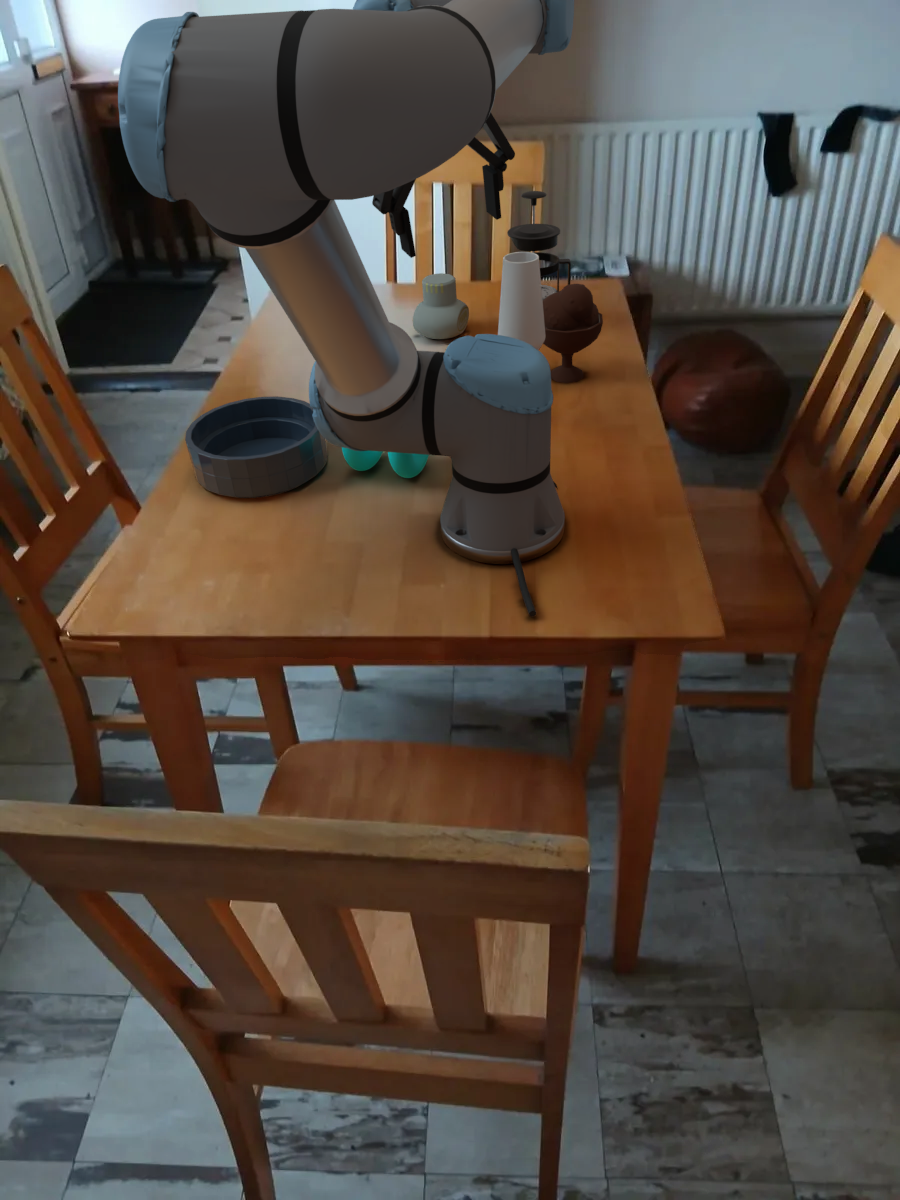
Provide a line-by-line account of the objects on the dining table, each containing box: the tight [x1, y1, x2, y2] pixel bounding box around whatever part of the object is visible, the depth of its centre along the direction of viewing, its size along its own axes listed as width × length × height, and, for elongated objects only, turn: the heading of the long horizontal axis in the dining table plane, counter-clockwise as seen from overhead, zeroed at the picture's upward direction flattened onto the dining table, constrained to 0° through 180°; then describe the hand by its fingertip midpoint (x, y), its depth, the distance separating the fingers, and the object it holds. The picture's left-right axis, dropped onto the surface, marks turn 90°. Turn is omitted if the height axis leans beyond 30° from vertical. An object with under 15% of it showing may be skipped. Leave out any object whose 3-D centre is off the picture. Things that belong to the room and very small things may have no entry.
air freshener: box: [412, 272, 470, 340], centre depth 159 cm, size 11×8×10 cm
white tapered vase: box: [497, 251, 545, 351], centre depth 126 cm, size 7×7×24 cm
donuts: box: [341, 447, 430, 479], centre depth 121 cm, size 10×10×10 cm
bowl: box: [184, 395, 329, 499], centre depth 125 cm, size 19×19×6 cm
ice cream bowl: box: [542, 283, 604, 384], centre depth 141 cm, size 11×11×15 cm
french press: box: [506, 190, 572, 301], centre depth 155 cm, size 12×9×23 cm
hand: (451, 233), depth 123 cm, fingers open, 13 cm apart
